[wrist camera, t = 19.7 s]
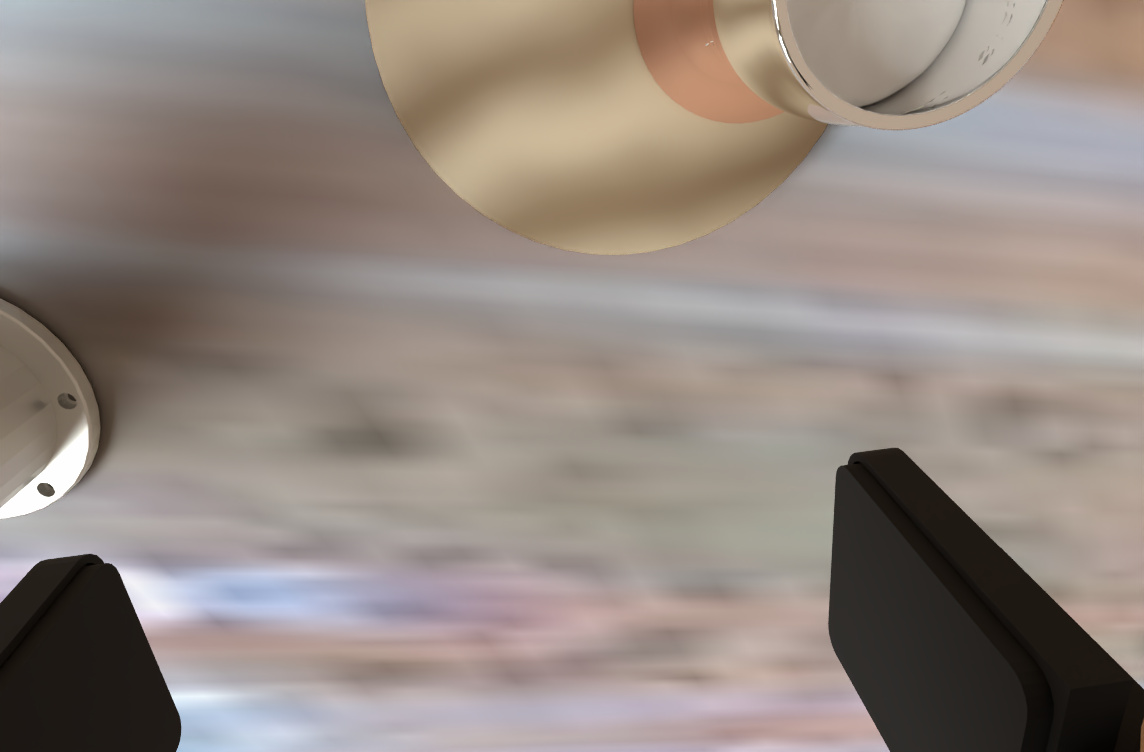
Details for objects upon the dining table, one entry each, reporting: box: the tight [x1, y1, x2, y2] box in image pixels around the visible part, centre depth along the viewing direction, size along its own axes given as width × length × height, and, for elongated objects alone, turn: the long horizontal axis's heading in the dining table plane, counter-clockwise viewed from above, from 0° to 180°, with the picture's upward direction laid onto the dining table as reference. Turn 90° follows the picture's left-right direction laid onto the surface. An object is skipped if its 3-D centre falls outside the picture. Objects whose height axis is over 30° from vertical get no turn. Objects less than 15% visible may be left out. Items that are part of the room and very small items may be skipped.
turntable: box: [365, 0, 828, 255], centre depth 29 cm, size 20×20×5 cm
